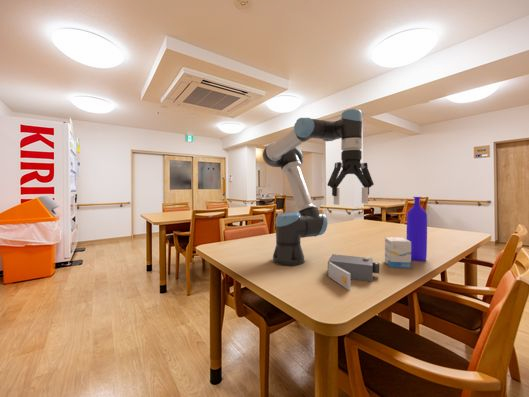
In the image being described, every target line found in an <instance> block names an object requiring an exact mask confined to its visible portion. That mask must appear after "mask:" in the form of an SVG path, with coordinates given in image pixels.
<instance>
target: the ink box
mask: <svg viewBox="0 0 529 397" xmlns="http://www.w3.org/2000/svg"><path fill="white" fill-rule="evenodd" d="M384 262H385V264H386V265H388V266H389V267H390V268H399V269H400V268H401V269H411V268H412V260H411V242H410V241H409V240H407V238H405V237H398V236H397V237H395V236H391V237H390V236H389V237H384Z"/></svg>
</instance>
